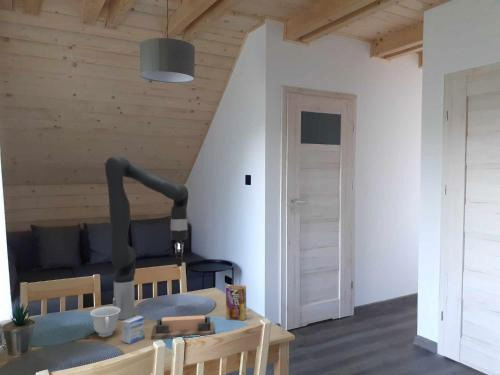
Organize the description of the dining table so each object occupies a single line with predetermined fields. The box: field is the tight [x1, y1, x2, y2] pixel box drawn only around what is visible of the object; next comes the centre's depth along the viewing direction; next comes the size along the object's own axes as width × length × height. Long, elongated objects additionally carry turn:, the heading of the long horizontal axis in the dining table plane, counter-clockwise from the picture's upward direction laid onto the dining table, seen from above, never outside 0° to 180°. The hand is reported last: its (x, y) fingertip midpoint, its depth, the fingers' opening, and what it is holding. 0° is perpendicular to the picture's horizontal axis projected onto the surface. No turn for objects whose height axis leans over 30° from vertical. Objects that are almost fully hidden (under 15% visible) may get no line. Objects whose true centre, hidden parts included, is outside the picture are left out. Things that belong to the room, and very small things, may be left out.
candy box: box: [225, 284, 247, 321], centre depth 191 cm, size 9×4×15 cm, turn 79°
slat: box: [161, 314, 206, 331], centre depth 175 cm, size 18×4×4 cm, turn 98°
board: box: [150, 316, 216, 340], centre depth 175 cm, size 26×12×4 cm, turn 98°
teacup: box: [89, 305, 120, 338], centre depth 171 cm, size 12×15×10 cm
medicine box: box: [121, 315, 146, 345], centre depth 167 cm, size 8×4×9 cm, turn 148°
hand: (179, 266), depth 188 cm, fingers closed
